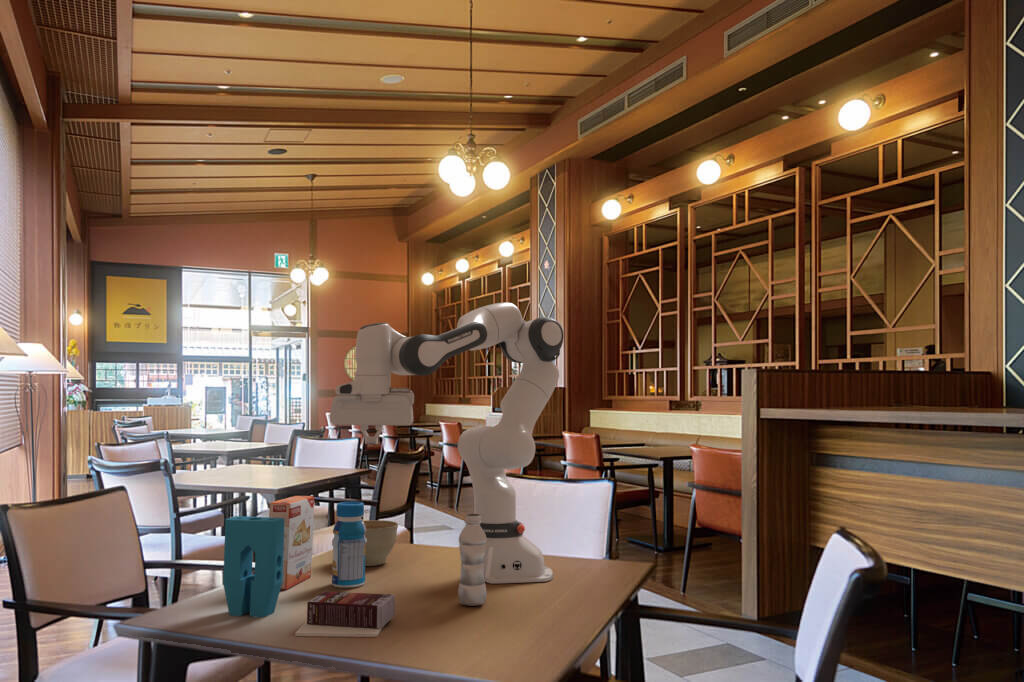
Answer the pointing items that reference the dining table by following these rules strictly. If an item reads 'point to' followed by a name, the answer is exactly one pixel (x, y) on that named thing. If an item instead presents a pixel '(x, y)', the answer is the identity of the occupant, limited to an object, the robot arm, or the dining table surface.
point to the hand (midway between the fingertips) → (371, 444)
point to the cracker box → (295, 537)
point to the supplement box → (351, 609)
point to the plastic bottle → (472, 562)
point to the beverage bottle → (349, 546)
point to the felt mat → (336, 631)
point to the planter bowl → (379, 540)
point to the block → (238, 579)
